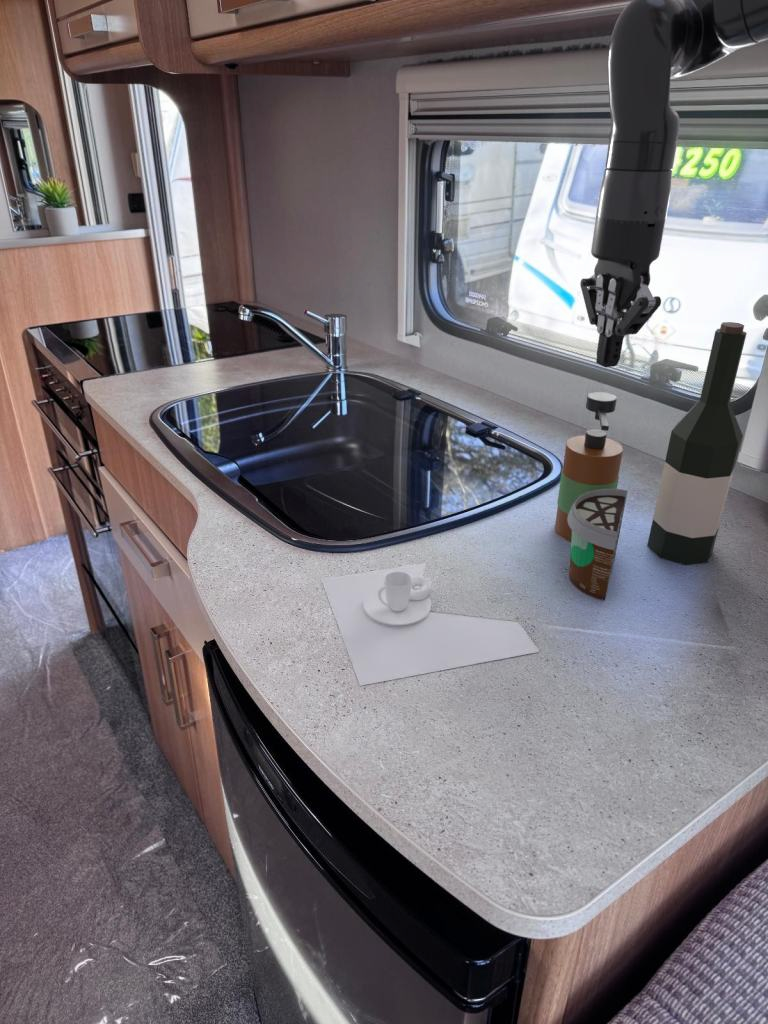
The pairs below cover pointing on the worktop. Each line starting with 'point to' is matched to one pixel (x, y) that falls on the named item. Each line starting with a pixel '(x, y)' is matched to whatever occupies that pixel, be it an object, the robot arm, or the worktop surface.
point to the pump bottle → (586, 472)
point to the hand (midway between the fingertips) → (606, 364)
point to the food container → (595, 539)
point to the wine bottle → (700, 461)
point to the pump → (601, 406)
